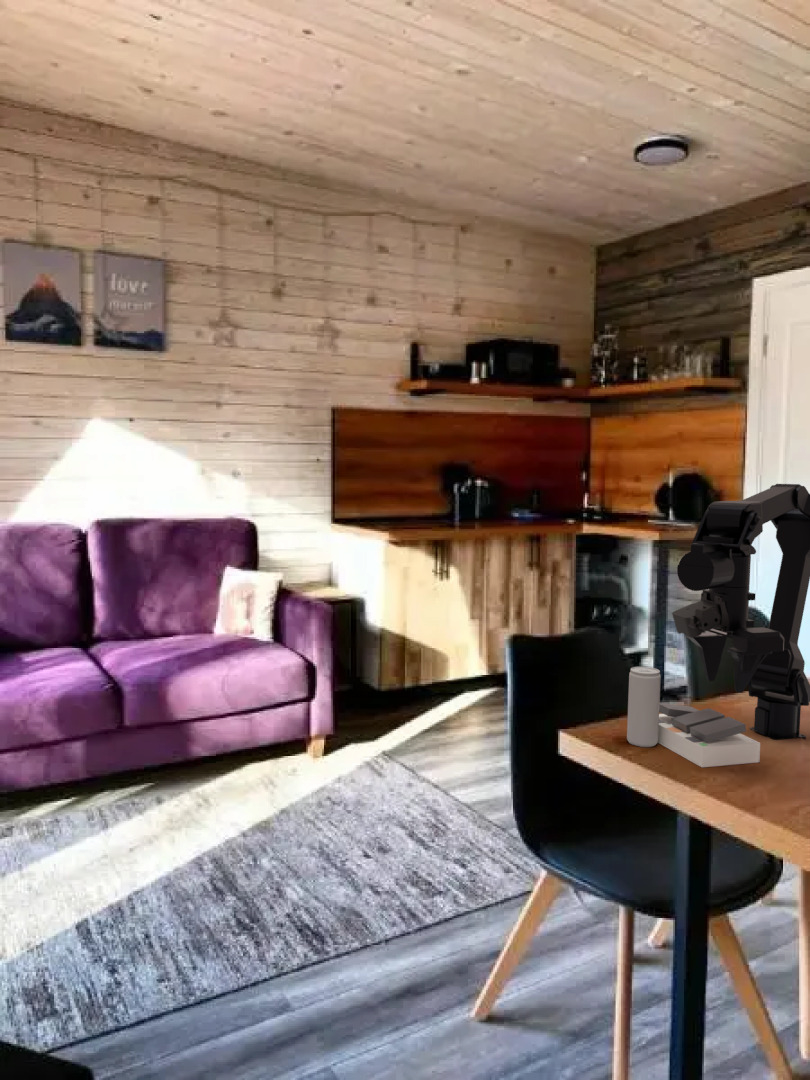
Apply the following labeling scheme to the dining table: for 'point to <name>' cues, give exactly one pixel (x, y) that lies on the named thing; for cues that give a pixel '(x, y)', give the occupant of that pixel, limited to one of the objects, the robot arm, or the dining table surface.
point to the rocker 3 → (717, 729)
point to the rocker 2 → (696, 719)
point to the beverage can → (643, 706)
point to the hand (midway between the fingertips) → (724, 686)
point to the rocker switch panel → (707, 746)
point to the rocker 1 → (675, 709)
